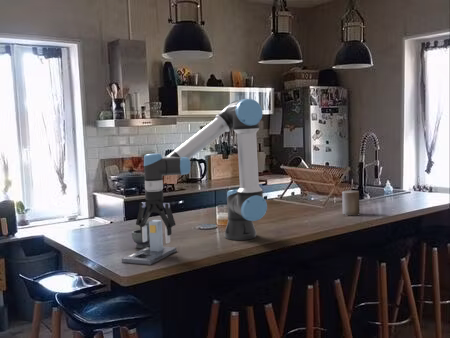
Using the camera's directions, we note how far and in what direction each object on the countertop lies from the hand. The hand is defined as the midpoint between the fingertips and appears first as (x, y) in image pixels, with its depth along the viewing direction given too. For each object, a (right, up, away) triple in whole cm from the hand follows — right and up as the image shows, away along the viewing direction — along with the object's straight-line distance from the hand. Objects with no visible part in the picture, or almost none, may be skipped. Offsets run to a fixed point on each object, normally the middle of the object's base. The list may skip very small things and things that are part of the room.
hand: (156, 242), depth 205 cm
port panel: (-2, -5, -5) cm, 7 cm away
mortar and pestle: (-8, -4, +14) cm, 16 cm away
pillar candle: (+103, +4, +77) cm, 128 cm away
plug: (0, -5, 0) cm, 5 cm away
